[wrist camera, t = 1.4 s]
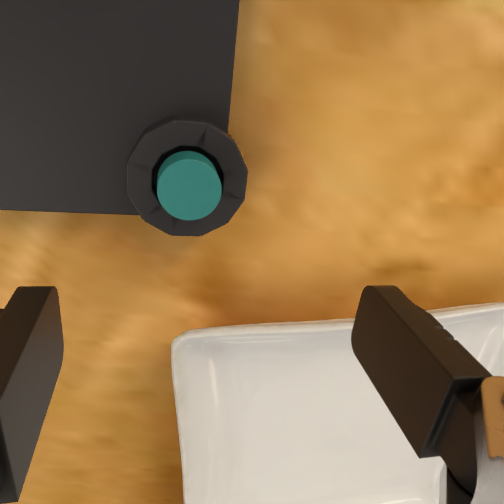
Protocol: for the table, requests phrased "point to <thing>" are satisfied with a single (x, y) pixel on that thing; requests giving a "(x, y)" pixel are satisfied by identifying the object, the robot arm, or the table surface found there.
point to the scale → (115, 104)
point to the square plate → (303, 413)
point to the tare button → (188, 185)
